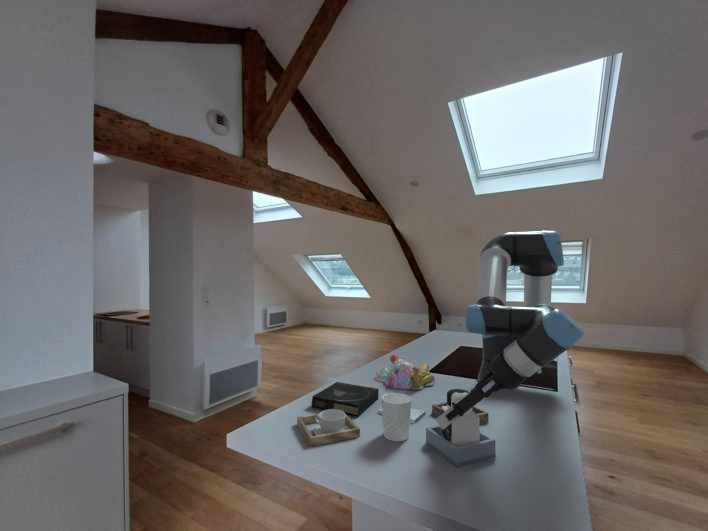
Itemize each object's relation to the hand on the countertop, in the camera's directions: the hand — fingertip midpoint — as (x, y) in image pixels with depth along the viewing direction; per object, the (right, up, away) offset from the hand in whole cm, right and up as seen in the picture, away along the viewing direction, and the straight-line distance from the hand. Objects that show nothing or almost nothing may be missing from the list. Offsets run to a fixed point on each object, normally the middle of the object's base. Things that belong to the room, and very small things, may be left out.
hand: (447, 416), depth 84 cm
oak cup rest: (-31, -7, +7) cm, 33 cm away
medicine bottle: (+2, -5, -2) cm, 6 cm away
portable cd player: (-26, -8, +27) cm, 39 cm away
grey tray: (+2, -7, -2) cm, 8 cm away
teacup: (-30, -7, +7) cm, 32 cm away
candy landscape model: (-3, -9, +52) cm, 53 cm away
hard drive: (-9, -8, +19) cm, 22 cm away
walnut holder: (+8, -8, +17) cm, 20 cm away
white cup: (-13, -7, +5) cm, 15 cm away
